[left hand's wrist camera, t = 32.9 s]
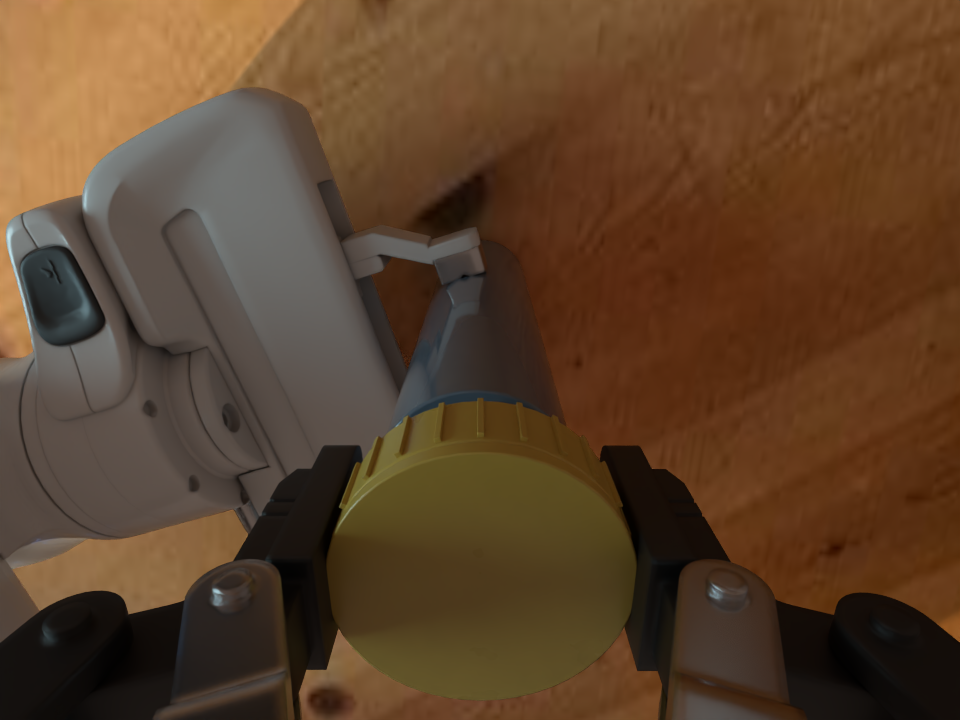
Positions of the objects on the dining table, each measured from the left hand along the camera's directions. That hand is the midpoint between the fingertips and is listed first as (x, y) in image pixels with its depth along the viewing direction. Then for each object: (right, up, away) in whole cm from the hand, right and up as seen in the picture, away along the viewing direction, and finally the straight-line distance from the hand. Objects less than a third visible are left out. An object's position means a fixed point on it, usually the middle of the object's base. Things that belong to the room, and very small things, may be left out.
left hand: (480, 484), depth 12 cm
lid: (0, -1, -2) cm, 3 cm away
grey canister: (0, +6, +16) cm, 18 cm away
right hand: (+1, +4, +10) cm, 11 cm away
